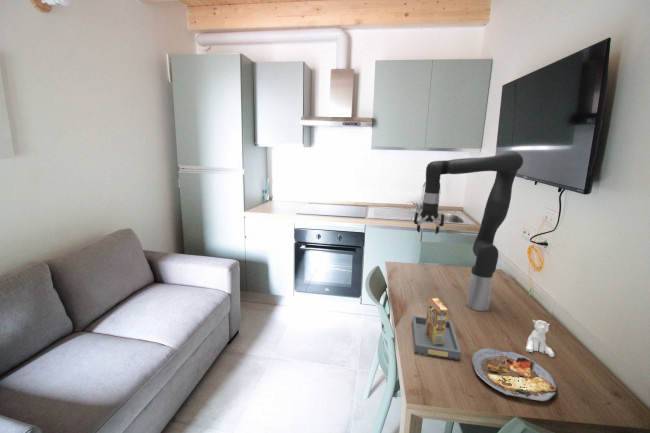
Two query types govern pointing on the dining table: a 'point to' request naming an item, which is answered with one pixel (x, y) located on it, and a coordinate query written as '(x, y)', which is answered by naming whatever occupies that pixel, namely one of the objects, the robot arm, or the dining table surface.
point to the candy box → (436, 321)
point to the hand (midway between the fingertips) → (427, 232)
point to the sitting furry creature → (539, 339)
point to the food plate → (521, 367)
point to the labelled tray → (425, 344)
